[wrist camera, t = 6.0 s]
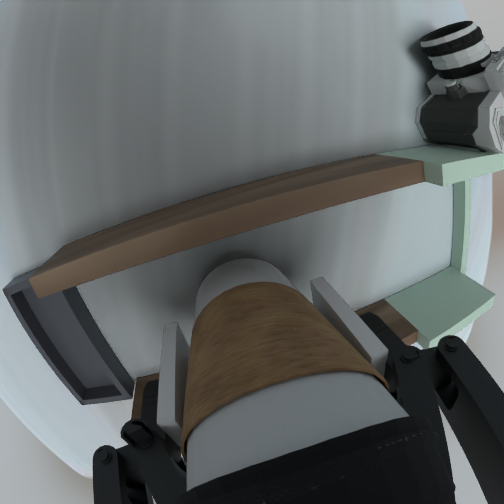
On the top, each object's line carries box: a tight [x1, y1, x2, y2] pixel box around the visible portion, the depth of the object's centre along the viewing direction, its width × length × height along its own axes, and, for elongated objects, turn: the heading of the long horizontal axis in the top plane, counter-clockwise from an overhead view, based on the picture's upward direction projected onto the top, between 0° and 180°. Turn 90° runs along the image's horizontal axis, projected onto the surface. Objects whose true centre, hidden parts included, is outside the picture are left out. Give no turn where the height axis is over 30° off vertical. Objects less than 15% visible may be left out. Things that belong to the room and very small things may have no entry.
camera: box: [415, 21, 504, 154], centre depth 11 cm, size 16×9×10 cm, turn 132°
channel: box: [29, 154, 425, 420], centre depth 17 cm, size 13×22×5 cm, turn 104°
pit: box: [2, 267, 135, 405], centre depth 17 cm, size 12×6×2 cm, turn 14°
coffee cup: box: [173, 258, 455, 504], centre depth 10 cm, size 8×8×15 cm
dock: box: [378, 144, 504, 349], centre depth 17 cm, size 13×10×6 cm
